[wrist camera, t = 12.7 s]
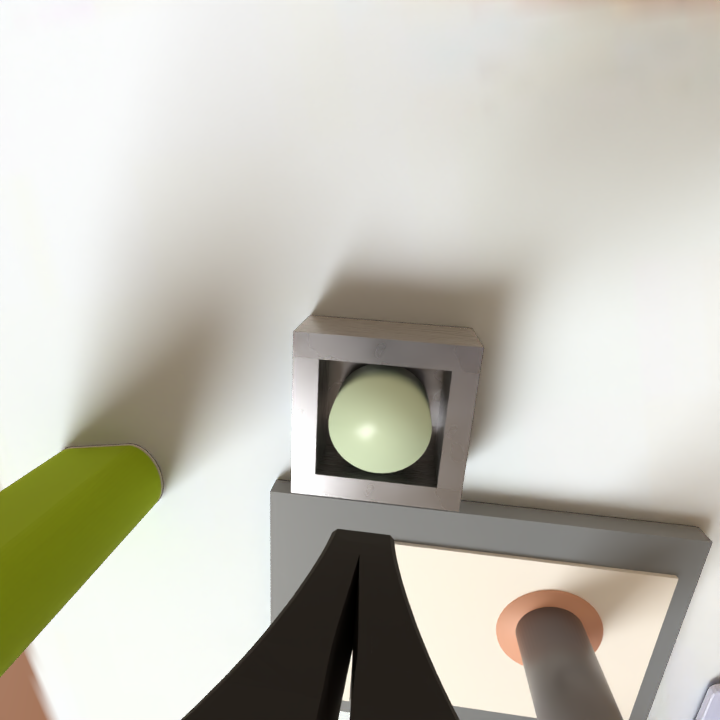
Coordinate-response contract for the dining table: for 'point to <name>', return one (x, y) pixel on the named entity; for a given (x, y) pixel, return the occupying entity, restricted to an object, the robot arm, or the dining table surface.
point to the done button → (381, 419)
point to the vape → (65, 531)
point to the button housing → (394, 348)
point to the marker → (563, 668)
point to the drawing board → (510, 588)
